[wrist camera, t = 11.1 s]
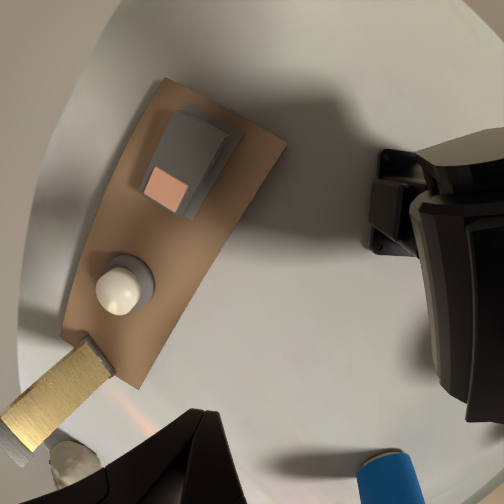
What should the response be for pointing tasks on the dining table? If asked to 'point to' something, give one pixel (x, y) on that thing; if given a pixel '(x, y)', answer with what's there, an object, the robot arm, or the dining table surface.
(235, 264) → the dining table surface
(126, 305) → the push button
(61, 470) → the ceramic sculpture
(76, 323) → the switch panel
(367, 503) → the beverage can
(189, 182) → the rocker switch
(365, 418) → the dining table surface
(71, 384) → the tan capped bar
